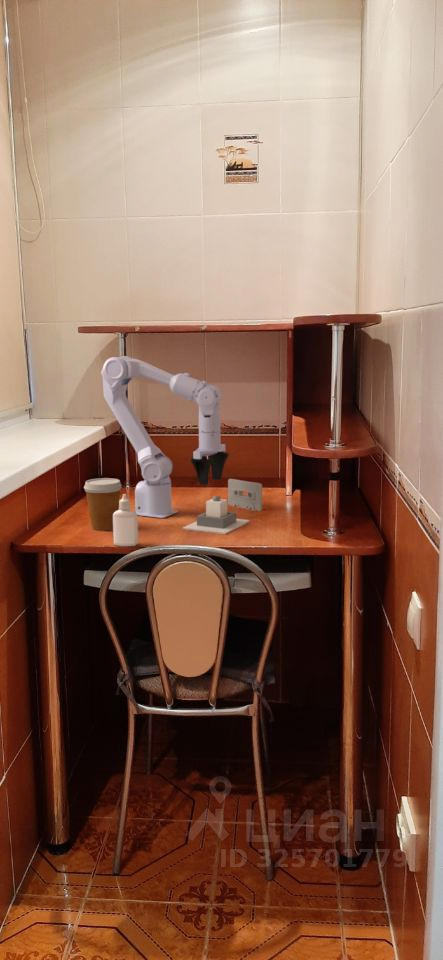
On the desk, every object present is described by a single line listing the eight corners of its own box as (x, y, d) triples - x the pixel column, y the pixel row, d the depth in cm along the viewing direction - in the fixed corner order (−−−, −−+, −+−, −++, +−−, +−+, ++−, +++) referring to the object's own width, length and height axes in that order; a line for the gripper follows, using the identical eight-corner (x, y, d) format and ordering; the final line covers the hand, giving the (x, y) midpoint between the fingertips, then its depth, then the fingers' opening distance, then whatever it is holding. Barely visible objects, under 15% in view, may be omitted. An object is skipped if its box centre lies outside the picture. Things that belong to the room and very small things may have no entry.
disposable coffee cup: (106, 534, 190) (104, 486, 188) (77, 529, 195) (75, 482, 193) (131, 525, 198) (129, 480, 196) (102, 521, 203) (101, 476, 201)
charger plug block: (206, 524, 197) (205, 497, 195) (213, 520, 200) (213, 494, 199) (220, 526, 195) (219, 498, 194) (227, 522, 198) (227, 495, 197)
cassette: (263, 510, 214) (263, 483, 212) (259, 511, 212) (259, 484, 211) (231, 504, 222) (231, 478, 220) (226, 505, 220) (226, 479, 219)
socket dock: (182, 529, 194) (182, 517, 194) (208, 517, 207) (208, 506, 206) (225, 534, 189) (225, 522, 188) (249, 521, 201) (249, 510, 201)
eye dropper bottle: (127, 548, 177) (125, 497, 175) (111, 544, 181) (109, 494, 179) (141, 544, 181) (139, 494, 178) (124, 540, 184) (123, 491, 182)
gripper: (210, 435, 195) (210, 488, 197) (235, 428, 208) (235, 478, 210) (185, 434, 198) (186, 485, 201) (212, 427, 211) (212, 476, 213)
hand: (210, 481), depth 206 cm, fingers open, 7 cm apart
